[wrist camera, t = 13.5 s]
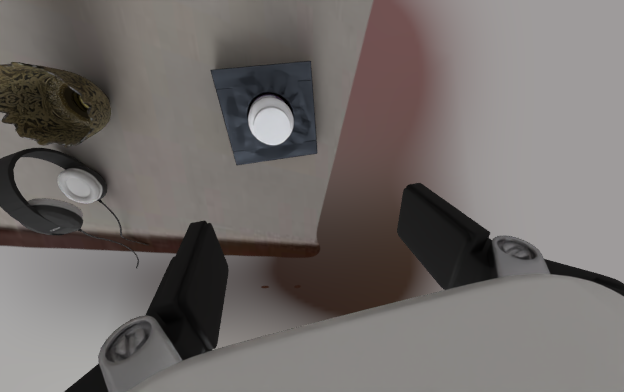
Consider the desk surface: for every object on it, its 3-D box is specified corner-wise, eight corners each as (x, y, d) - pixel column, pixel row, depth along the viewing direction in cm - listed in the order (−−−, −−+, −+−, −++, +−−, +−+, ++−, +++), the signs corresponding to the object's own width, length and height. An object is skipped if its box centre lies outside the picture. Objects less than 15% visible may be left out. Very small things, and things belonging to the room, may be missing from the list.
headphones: (144, 236, 40) (22, 142, 27) (167, 228, 41) (56, 130, 27) (124, 286, 33) (-59, 191, 20) (151, 276, 33) (-11, 174, 20)
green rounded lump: (63, 122, 28) (-3, 138, 21) (49, 56, 25) (-34, 49, 18) (133, 135, 30) (94, 154, 23) (128, 76, 27) (82, 78, 20)
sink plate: (215, 70, 28) (210, 70, 26) (306, 61, 30) (310, 60, 27) (238, 158, 34) (236, 165, 32) (313, 147, 36) (317, 153, 33)
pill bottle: (292, 126, 33) (303, 143, 25) (259, 136, 33) (257, 158, 25) (281, 87, 31) (288, 93, 22) (244, 99, 30) (237, 109, 22)
